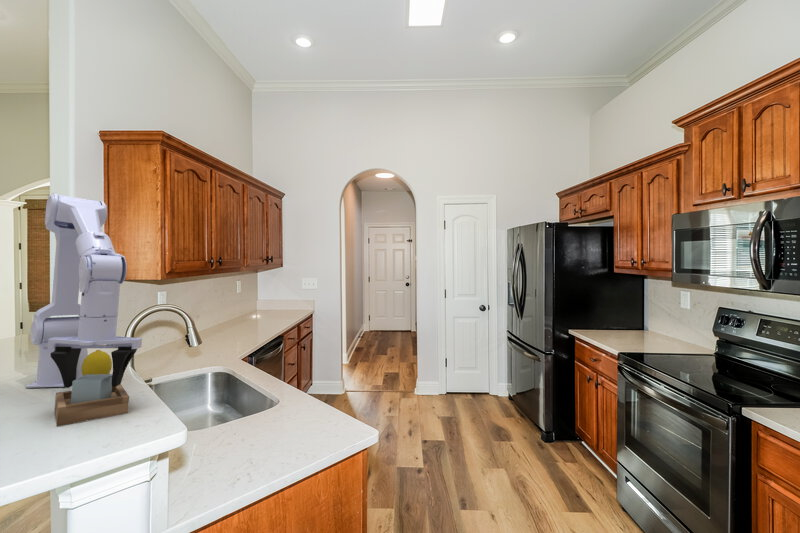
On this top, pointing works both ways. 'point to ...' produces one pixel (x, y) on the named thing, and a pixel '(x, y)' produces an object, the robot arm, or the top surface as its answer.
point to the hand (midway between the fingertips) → (93, 385)
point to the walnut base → (90, 407)
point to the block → (91, 388)
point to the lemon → (97, 363)
